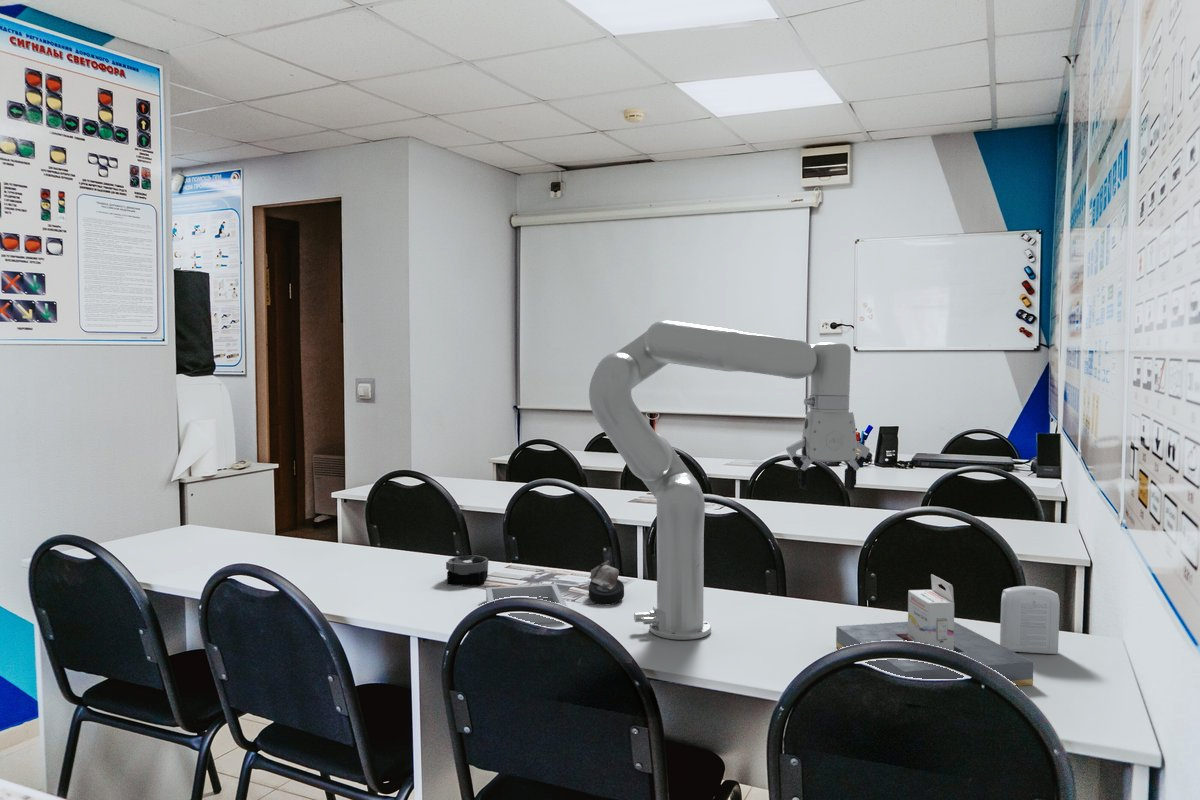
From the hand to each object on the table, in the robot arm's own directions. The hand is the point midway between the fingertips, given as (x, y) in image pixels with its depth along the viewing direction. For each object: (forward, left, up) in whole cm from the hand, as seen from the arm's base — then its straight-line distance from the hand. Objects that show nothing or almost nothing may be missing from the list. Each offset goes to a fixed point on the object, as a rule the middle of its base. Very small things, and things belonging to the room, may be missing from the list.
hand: (826, 489), depth 166 cm
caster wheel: (-38, +34, -30) cm, 59 cm away
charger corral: (-58, +27, -30) cm, 71 cm away
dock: (+11, -20, -30) cm, 37 cm away
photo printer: (+34, -17, -30) cm, 48 cm away
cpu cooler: (-70, +56, -30) cm, 95 cm away
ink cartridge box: (+11, -20, -29) cm, 36 cm away
